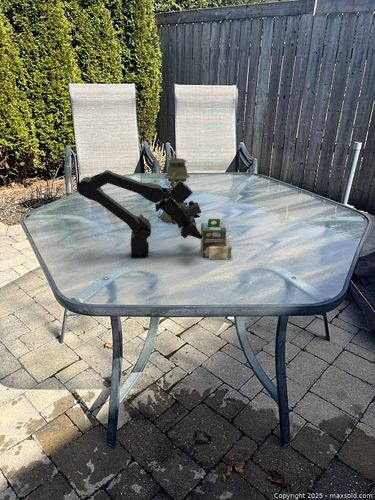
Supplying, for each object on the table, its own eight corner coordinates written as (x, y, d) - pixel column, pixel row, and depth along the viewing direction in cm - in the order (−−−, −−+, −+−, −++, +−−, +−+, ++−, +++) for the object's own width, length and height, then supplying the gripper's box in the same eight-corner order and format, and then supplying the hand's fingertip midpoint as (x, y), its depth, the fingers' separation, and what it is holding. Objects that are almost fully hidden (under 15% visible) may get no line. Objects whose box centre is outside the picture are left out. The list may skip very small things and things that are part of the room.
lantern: (189, 226, 182) (190, 163, 170) (154, 223, 185) (152, 161, 173) (196, 213, 200) (198, 156, 188) (164, 211, 203) (164, 154, 191)
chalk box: (222, 248, 157) (224, 214, 152) (225, 257, 149) (227, 221, 143) (199, 248, 157) (201, 214, 151) (201, 257, 148) (203, 221, 143)
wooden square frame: (209, 259, 147) (209, 247, 145) (204, 245, 159) (204, 234, 157) (230, 259, 147) (231, 247, 146) (224, 245, 160) (224, 234, 158)
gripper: (191, 202, 134) (220, 232, 139) (187, 190, 151) (213, 217, 156) (168, 223, 137) (198, 252, 141) (167, 209, 154) (193, 235, 159)
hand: (201, 238), depth 149 cm, fingers closed, pressing on chalk box
